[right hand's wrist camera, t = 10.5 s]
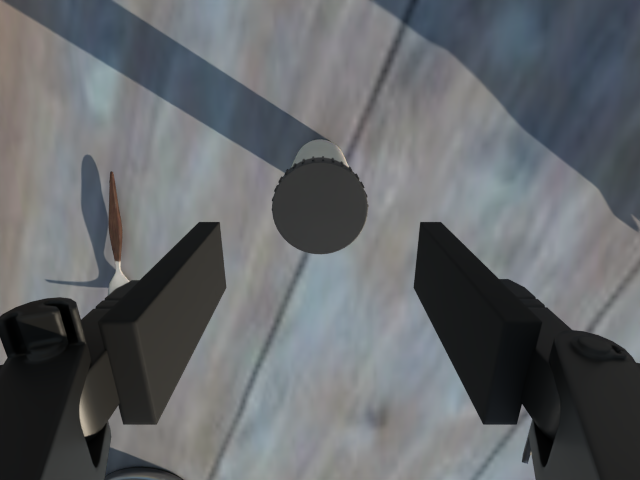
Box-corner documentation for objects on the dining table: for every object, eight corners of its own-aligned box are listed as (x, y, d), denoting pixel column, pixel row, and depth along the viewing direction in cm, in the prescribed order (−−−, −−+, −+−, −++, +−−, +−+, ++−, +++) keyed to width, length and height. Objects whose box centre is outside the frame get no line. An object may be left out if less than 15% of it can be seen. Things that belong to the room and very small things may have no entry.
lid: (259, 220, 22) (254, 230, 20) (299, 138, 20) (297, 141, 18) (337, 258, 23) (339, 270, 21) (382, 182, 21) (387, 189, 19)
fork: (128, 172, 34) (117, 176, 32) (135, 317, 40) (126, 328, 38) (100, 168, 34) (87, 172, 32) (111, 314, 39) (101, 325, 38)
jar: (286, 176, 34) (263, 225, 20) (308, 129, 33) (301, 148, 19) (330, 198, 35) (337, 261, 21) (354, 154, 34) (378, 190, 20)
